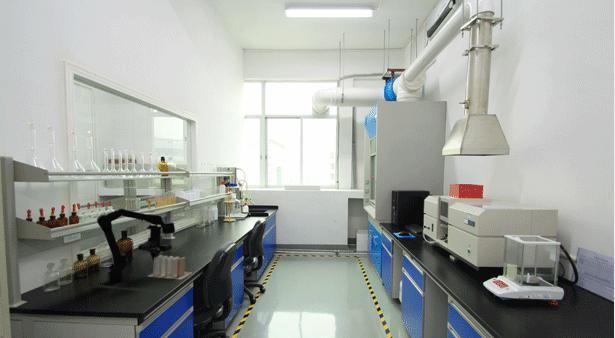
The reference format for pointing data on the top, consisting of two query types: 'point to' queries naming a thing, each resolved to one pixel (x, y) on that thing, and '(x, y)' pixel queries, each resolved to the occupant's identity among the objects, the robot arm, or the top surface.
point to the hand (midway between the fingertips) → (154, 261)
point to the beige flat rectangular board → (170, 276)
